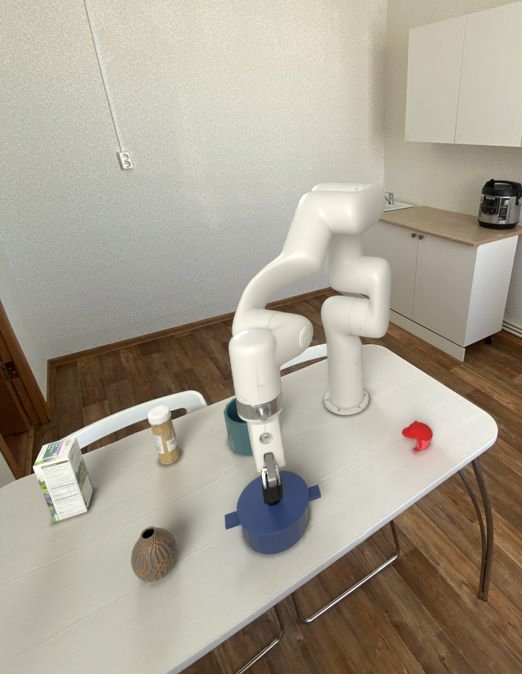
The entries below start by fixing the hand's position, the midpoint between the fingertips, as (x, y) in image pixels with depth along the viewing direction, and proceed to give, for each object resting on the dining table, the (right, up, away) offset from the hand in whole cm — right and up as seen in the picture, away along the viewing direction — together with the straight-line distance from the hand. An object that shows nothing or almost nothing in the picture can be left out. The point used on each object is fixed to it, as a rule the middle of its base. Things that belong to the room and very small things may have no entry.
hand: (269, 478), depth 70 cm
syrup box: (-42, -10, +8) cm, 44 cm away
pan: (0, -11, +4) cm, 12 cm away
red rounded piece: (+30, -4, +22) cm, 38 cm away
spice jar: (-28, -6, +20) cm, 35 cm away
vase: (-18, -14, -3) cm, 24 cm away
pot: (-10, -3, +26) cm, 28 cm away
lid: (0, -6, +3) cm, 6 cm away
